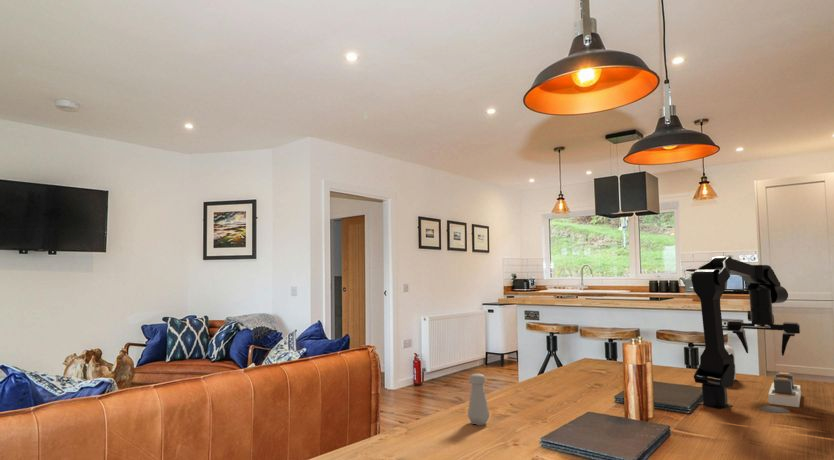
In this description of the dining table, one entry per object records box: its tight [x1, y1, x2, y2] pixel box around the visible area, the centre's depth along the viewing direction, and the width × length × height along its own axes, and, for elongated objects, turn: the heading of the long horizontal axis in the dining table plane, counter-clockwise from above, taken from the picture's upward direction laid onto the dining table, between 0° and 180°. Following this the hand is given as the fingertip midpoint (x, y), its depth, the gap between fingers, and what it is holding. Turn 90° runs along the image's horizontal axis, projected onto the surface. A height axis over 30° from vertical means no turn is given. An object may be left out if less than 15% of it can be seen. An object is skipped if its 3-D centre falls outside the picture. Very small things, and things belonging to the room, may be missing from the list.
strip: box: [767, 371, 802, 408], centre depth 155 cm, size 33×7×7 cm, turn 141°
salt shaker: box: [467, 373, 490, 426], centre depth 134 cm, size 6×6×13 cm
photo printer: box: [719, 344, 737, 381], centre depth 175 cm, size 10×4×12 cm, turn 134°
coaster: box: [758, 405, 791, 414], centre depth 138 cm, size 7×7×1 cm
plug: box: [773, 377, 793, 396], centre depth 146 cm, size 4×4×6 cm
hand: (764, 354), depth 156 cm, fingers open, 9 cm apart
